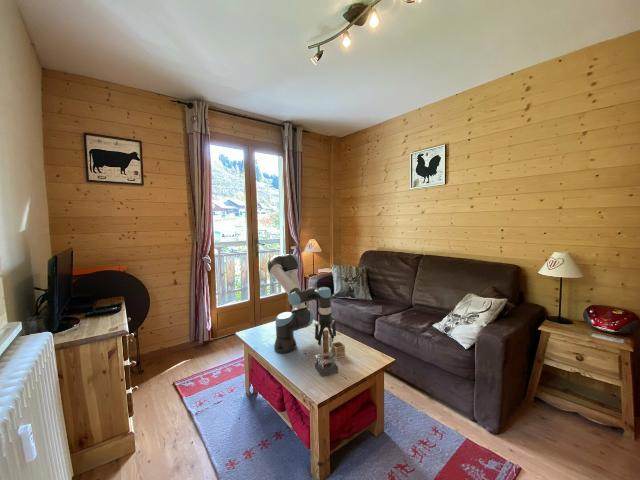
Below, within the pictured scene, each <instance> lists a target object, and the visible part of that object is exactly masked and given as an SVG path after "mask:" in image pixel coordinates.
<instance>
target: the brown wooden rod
mask: <svg viewBox="0 0 640 480" xmlns="http://www.w3.org/2000/svg"><path fill="white" fill-rule="evenodd" d="M329 337H330V334H329V331H328V329H327V330H326V329H324V330H323V334H322V354H323V353H326V352H330V347H329ZM327 358H329V356H324V357H322V359H327Z"/></svg>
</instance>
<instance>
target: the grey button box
mask: <svg viewBox="0 0 640 480" xmlns="http://www.w3.org/2000/svg"><path fill="white" fill-rule="evenodd" d="M324 356H329V358H327V359H328V360H325V361H324V359H323V357H324ZM314 357H315V361H314V369H315V370H316V371H317V373H318V375H319V376H321V378H325V377H328V376H331V375H335V374H338V373H339V368H338V367H339V366H338V364H337V362H338V358H336V357H335V356H334V355H333V354H332V353H331V351H329V352H326V353H323V352H322V353H320V354H315V355H314ZM328 363H329V364H328ZM325 364H328V365H325Z"/></svg>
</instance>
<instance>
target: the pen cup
mask: <svg viewBox="0 0 640 480" xmlns="http://www.w3.org/2000/svg"><path fill="white" fill-rule="evenodd" d="M330 352H331V353H332V354H333V355H334V356H335V357H336V359H340V358H343V357H346V345H345V344H344V343H343V342H342V341H337V342H332V348H330Z"/></svg>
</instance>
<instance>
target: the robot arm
mask: <svg viewBox="0 0 640 480" xmlns="http://www.w3.org/2000/svg"><path fill="white" fill-rule="evenodd" d="M299 267H300V261H299V258H298V256H297V255H296V254H294V253H287V254H279V255H274V256H271V257H270V258H269V260H268V262H267V271H268V273H269V275H271V276H272V277H274V278H275V279H276V281H277V283H279V285H280V286H281V287H282V288H283V290H284V291H285V292H286V293H287V300H288V301H287V302H288V303H289V305H291V306H292V309H291V311H284V312H281V313H279V314H278V315H277V316H276V317H275V332H276V333H275V334H276V337H275V340H274V346H273V350H274V352H276V353H278V354H289V353H292V352H294V351H295V350H296V349H297V346H298V345H297V341H296V338H295V336H294V335H295V333H294V332H295V331H298V330H302V329H305V328H307V327H310V326H311V325H312V324H313V321H314V314H313V312H312V310H311V309H310V308H308V306H307V305H306V304H305V303H308V302H312V301H317V302H318V322H317V323H316V322H315V323H314V327H315V329H314V330H315V332H314V339H315V340H316V341H317V345H318V346H319V351H321V352H323V331H324V330H325V329H326V328H327V330H328V334H329V349H331V348H332V343H334V338H335V337H336V336H337V329H336V328H337V327H336V324H337V322H336V320H335V319H332V292H331V288H330V287H327V286H322V287H317V286H309V287H308V288H307V289H303V290H301V286H300V282H299V277H298V271H299Z"/></svg>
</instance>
